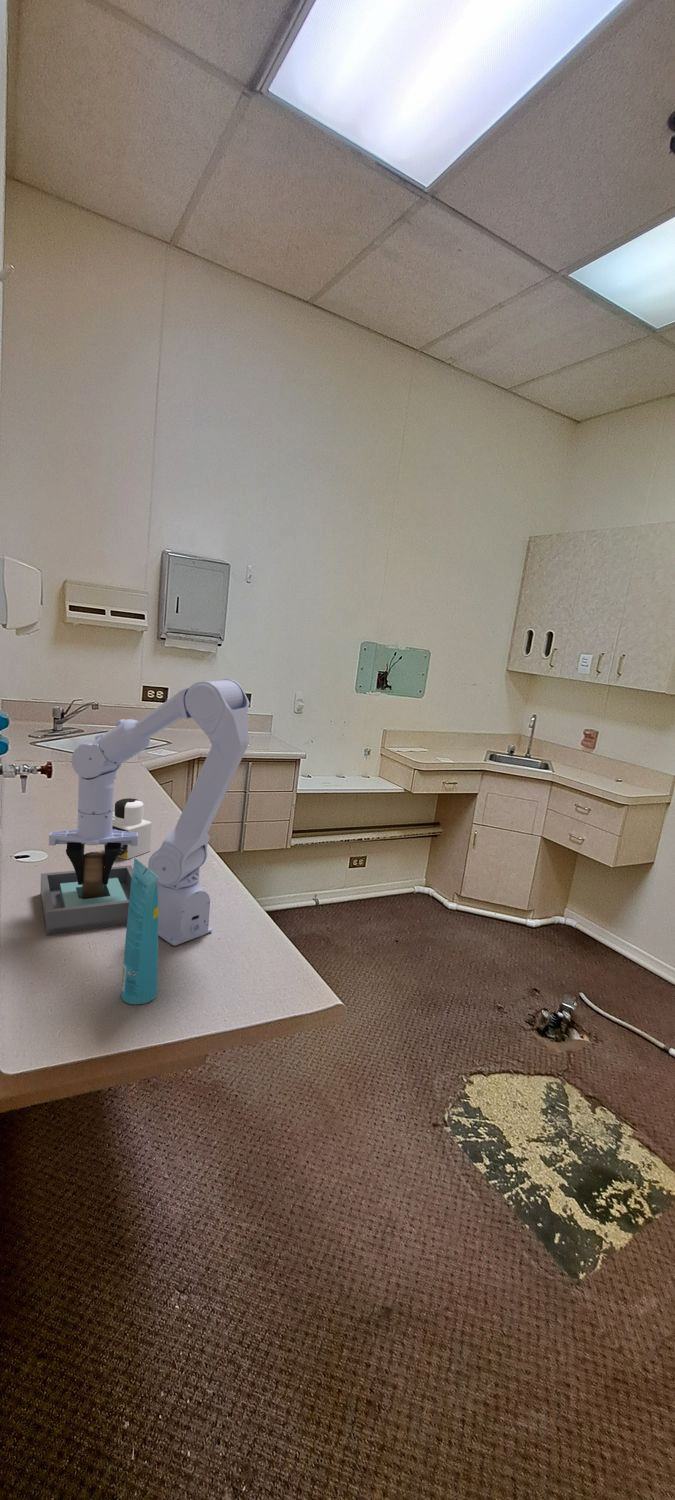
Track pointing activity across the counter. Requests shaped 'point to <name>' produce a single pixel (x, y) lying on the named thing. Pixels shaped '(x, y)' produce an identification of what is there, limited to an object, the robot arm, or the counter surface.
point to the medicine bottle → (132, 826)
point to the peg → (93, 875)
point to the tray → (83, 911)
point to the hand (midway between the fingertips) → (93, 882)
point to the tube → (141, 938)
